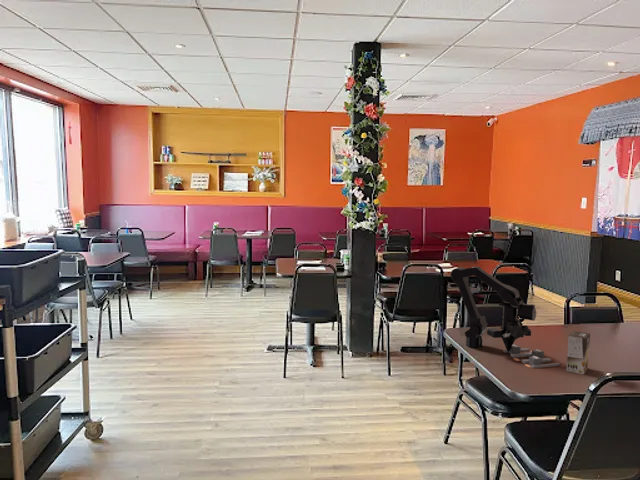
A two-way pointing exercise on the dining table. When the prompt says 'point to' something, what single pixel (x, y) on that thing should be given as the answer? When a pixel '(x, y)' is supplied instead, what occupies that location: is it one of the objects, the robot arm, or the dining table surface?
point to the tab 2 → (538, 353)
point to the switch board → (528, 359)
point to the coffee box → (578, 352)
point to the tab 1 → (515, 349)
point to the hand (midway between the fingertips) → (508, 350)
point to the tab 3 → (535, 360)
